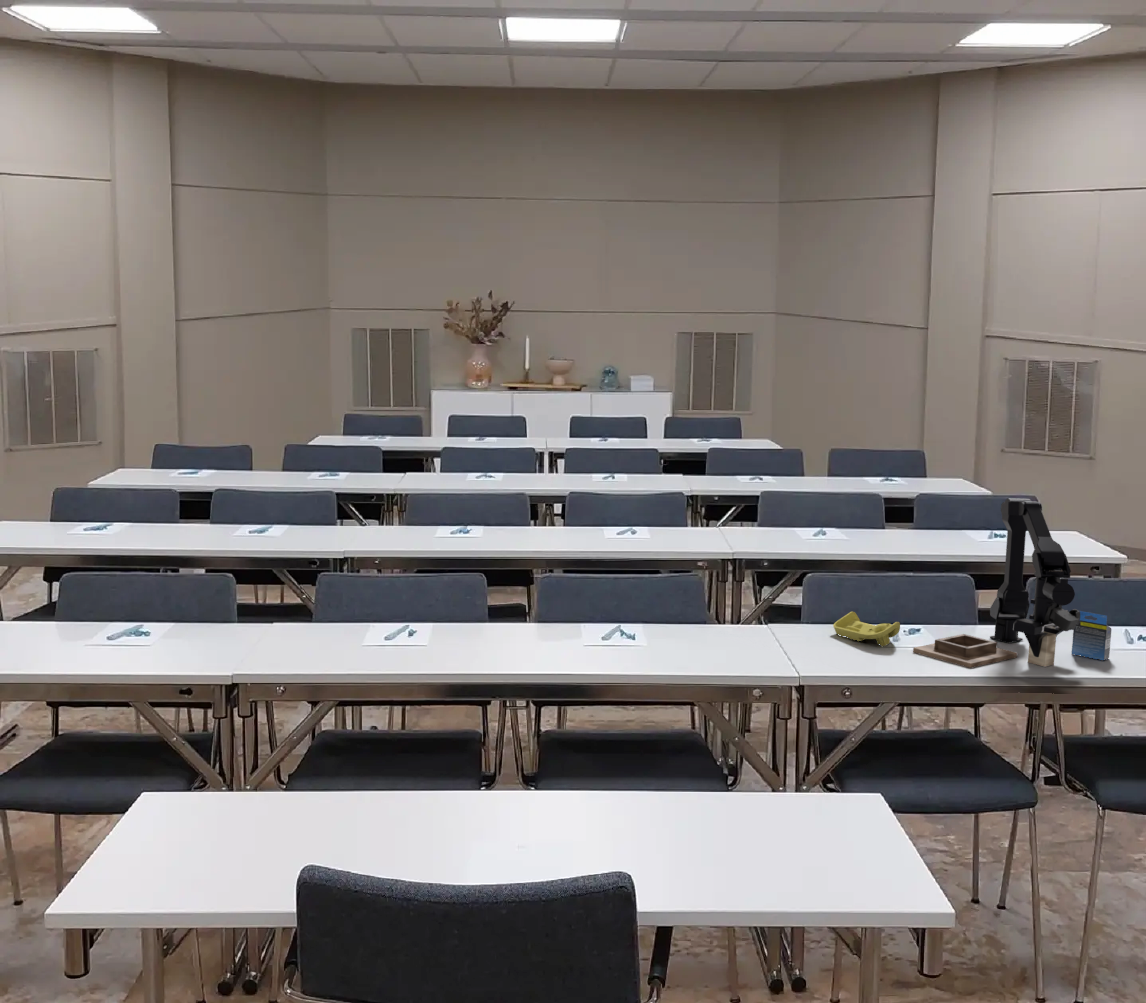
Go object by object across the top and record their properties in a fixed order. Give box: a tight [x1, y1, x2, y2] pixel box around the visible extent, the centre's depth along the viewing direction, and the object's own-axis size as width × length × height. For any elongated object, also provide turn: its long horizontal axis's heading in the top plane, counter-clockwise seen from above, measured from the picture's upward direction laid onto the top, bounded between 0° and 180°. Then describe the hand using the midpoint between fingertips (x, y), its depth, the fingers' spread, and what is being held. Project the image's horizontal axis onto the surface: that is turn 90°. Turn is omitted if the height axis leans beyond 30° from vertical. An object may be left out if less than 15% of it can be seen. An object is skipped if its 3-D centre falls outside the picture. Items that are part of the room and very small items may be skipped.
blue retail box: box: [1071, 609, 1112, 661], centre depth 340 cm, size 9×4×12 cm, turn 45°
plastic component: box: [832, 611, 901, 647], centre depth 351 cm, size 20×7×10 cm
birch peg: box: [1027, 632, 1057, 667], centre depth 332 cm, size 4×5×8 cm
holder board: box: [912, 633, 1018, 669], centre depth 339 cm, size 20×18×4 cm
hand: (1041, 655), depth 332 cm, fingers closed on birch peg, 4 cm apart
